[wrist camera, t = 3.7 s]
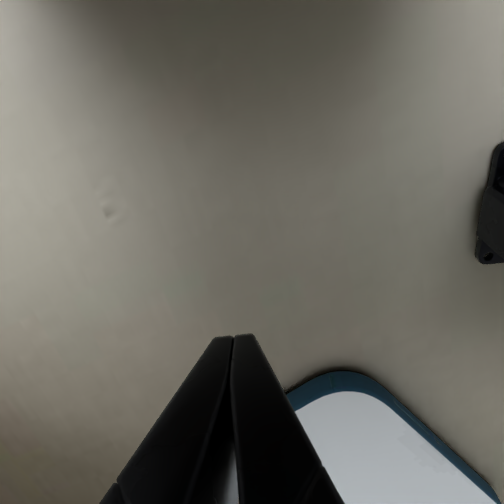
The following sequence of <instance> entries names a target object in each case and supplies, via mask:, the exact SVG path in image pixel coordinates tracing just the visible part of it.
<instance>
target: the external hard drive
mask: <svg viewBox="0 0 504 504" xmlns="http://www.w3.org/2000/svg"><path fill="white" fill-rule="evenodd" d="M286 396H287V398H288V400H289V402H290V403H291V405H292V407H293V409H294V411H295V413H296V415H297V417H298V418H299V420H300V422H301V424H302V426H303V428H304V430H305V432H306V433H307V435H308V437H309V439H310V441H311V443H312V445H313V447H314V448H315V450H316V452H317V454H318V456H319V458H320V460H321V462H322V466H324V467H325V469H326V470H327V472H328V474H329V476H330V478H331V480H332V482H333V484H334V485H335V487H336V489H337V491H338V492H339V494H340V496H341V498H342V499H343V501H344V503H345V504H501V502H500V500H499V498H498V497H497V495H496V493H495V492H494V490H493V489H492V488H491V487H490V486H489V484H488V483H487V482H485V481H484V480H483V479H482V478H481V477H480V476H479V475H478V474H477V473H476V472H475V471H474V470H473V469H471V468H470V467H469V466H468V465H467V464H466V463H465V462H464V461H463V460H462V459H461V458H460V457H458V456H457V455H456V454H455V453H454V452H453V451H452V450H451V449H450V448H449V447H448V446H447V445H446V444H444V443H443V442H442V441H441V440H440V439H439V438H438V437H437V436H436V435H435V434H434V433H433V432H431V431H430V430H429V429H428V428H427V427H426V426H425V425H424V424H423V423H422V422H421V421H420V420H419V419H417V418H416V417H415V416H414V415H413V414H412V413H411V412H410V411H409V410H408V409H407V408H406V407H405V406H403V405H402V404H401V403H400V402H399V401H398V400H397V399H396V398H395V397H394V396H393V395H392V394H390V393H389V392H388V391H387V390H386V389H385V388H384V387H382V386H381V385H380V384H379V383H377V382H376V381H374V380H372V379H371V378H369V377H367V376H364V375H362V374H359V373H355V372H350V371H336V372H330V373H327V374H324V375H321V376H318V377H316V378H314V379H312V380H310V381H308V382H307V383H305V384H303V385H302V386H300V387H298V388H297V389H295V390H293V391H291V392H290V393H288V394H286Z"/></svg>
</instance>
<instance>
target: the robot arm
mask: <svg viewBox="0 0 504 504" xmlns="http://www.w3.org/2000/svg"><path fill="white" fill-rule="evenodd" d="M477 236H478V241H477V246H476V252H475V257H476V258H477V260H478V261H479V262H480V263H482V264H495V263H504V142H502V143H501V144H500V145H498V146H497V148H496V149H495V151H494V154H493V160H492V165H491V171H490V176H489V181H488V187H487V189H486V190H485V191H484V196H483V201H482V207H481V212H480V218H479V223H478V229H477ZM486 253H489V254H488V255H487V256H484V255H485V254H486ZM238 495H239V504H345V503H344V501H343V499H342V498H341V496H340V494H339V492H338V491H337V489H336V487H335V485H334V484H333V482H332V480H331V478H330V476H329V474H328V472H327V470H326V469H325V467H324V466H322V462H321V460H320V458H319V456H318V454H317V452H316V450H315V448H314V447H313V445H312V443H311V441H310V439H309V437H308V435H307V433H306V432H305V430H304V428H303V426H302V424H301V422H300V420H299V418H298V417H297V415H296V413H295V411H294V409H293V407H292V405H291V403H290V402H289V400H288V398H287V396H286V394H285V392H284V390H283V388H282V387H281V385H280V383H279V381H278V379H277V377H276V375H275V373H274V372H273V370H272V368H271V366H270V364H269V362H268V360H267V358H266V357H265V355H264V353H263V351H262V349H261V347H260V345H259V343H258V341H257V340H256V338H255V336H254V335H253V334H251V333H250V334H240V335H236V336H235V337H233V336H221V337H215V338H214V339H213V340H212V341H211V343H210V344H209V345H208V347H207V348H206V350H205V351H204V353H203V354H202V356H201V357H200V359H199V360H198V361H197V363H196V364H195V366H194V367H193V369H192V370H191V372H190V373H189V374H188V376H187V377H186V379H185V380H184V382H183V383H182V385H181V386H180V388H179V389H178V390H177V392H176V393H175V395H174V396H173V398H172V399H171V401H170V402H169V403H168V405H167V406H166V408H165V409H164V411H163V412H162V414H161V415H160V417H159V418H158V419H157V421H156V422H155V424H154V425H153V427H152V428H151V430H150V431H149V432H148V434H147V435H146V437H145V438H144V440H143V441H142V443H141V444H140V446H139V447H138V448H137V450H136V451H135V453H134V454H133V456H132V457H131V459H130V460H129V461H128V463H127V464H126V466H125V467H124V469H123V470H122V472H121V473H120V475H119V476H118V477H117V483H113V484H112V486H111V487H110V489H109V490H108V492H107V493H106V495H105V496H104V497H103V499H102V500H101V502H100V503H99V504H238Z"/></svg>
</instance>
